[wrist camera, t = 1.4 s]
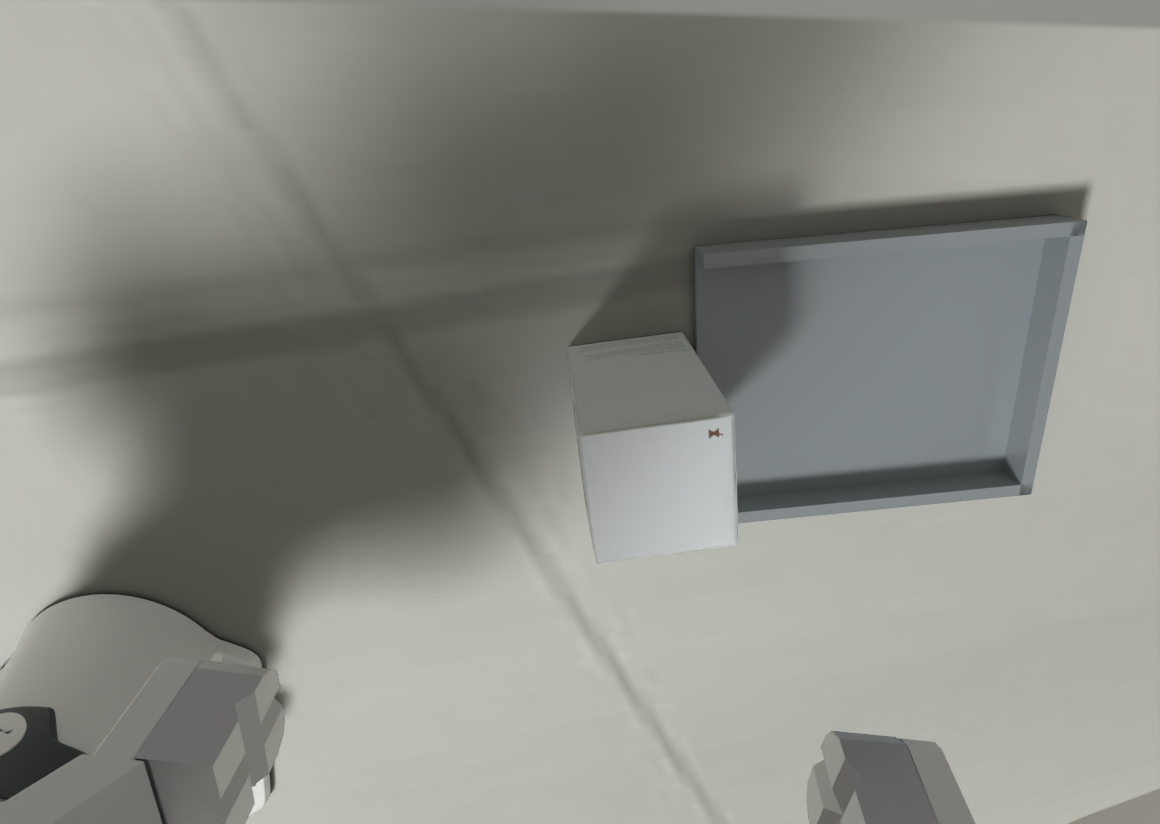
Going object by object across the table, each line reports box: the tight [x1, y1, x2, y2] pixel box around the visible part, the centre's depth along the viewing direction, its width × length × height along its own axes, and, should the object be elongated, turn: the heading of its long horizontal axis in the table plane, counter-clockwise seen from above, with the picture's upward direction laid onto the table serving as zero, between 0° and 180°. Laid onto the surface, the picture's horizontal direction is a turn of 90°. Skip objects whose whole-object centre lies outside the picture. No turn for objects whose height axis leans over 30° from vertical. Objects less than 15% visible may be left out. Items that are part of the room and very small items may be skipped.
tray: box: [694, 214, 1087, 523], centre depth 44 cm, size 18×22×2 cm
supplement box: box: [568, 332, 739, 563], centre depth 39 cm, size 7×7×13 cm
